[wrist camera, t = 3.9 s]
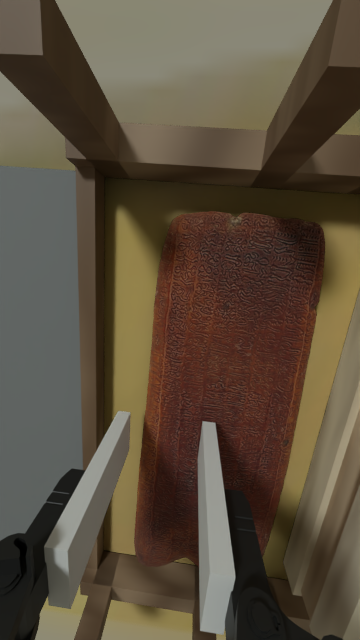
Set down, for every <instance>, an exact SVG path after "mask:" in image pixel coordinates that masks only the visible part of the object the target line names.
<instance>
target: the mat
mask: <svg viewBox="0 0 360 640" xmlns="http://www.w3.org/2000/svg"><path fill="white" fill-rule="evenodd" d="M72 468H73V469H80V470H83V452H82V412H81V371H80V331H79V291H78V250H77V210H76V171H70V170H55V169H40V168H25V167H10V166H0V541H1V540H2V539H4V538H6V537H7V536H9V535H13V534H16V533H24V534H25V533H26V531H27V530H28V528H29V527H30V525H31V523H32V522H33V520H34V519H35V517H36V516H37V514H38V513H39V511H40V509H41V508H42V506H43V505H44V503H46V500H47V499H48V497H49V496H50V494H51V493H52V492H53V489H54V488H55V486H56V485H57V483H58V482H59V480H60V479H61V477H63V476H64V475H65V474H66V473H67V472H68V471H69V470H70V469H72Z"/></svg>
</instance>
